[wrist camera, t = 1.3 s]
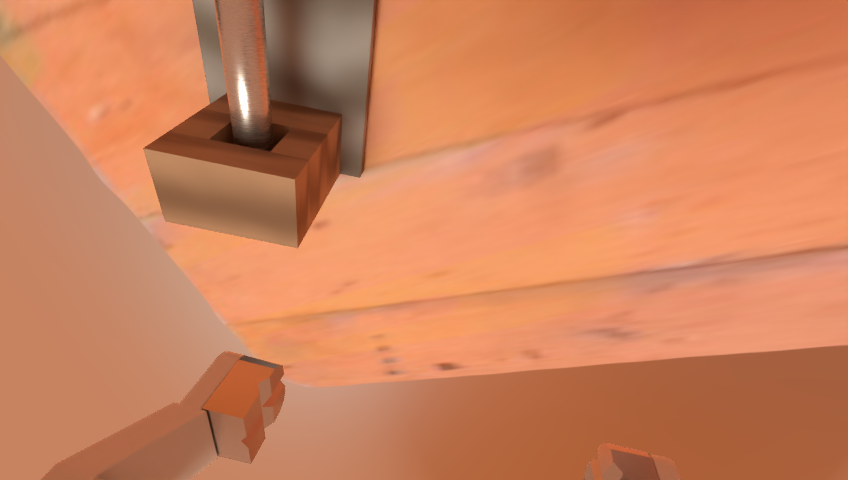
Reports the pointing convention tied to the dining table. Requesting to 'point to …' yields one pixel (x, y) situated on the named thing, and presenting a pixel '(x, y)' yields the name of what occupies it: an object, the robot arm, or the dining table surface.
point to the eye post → (274, 125)
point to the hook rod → (246, 71)
